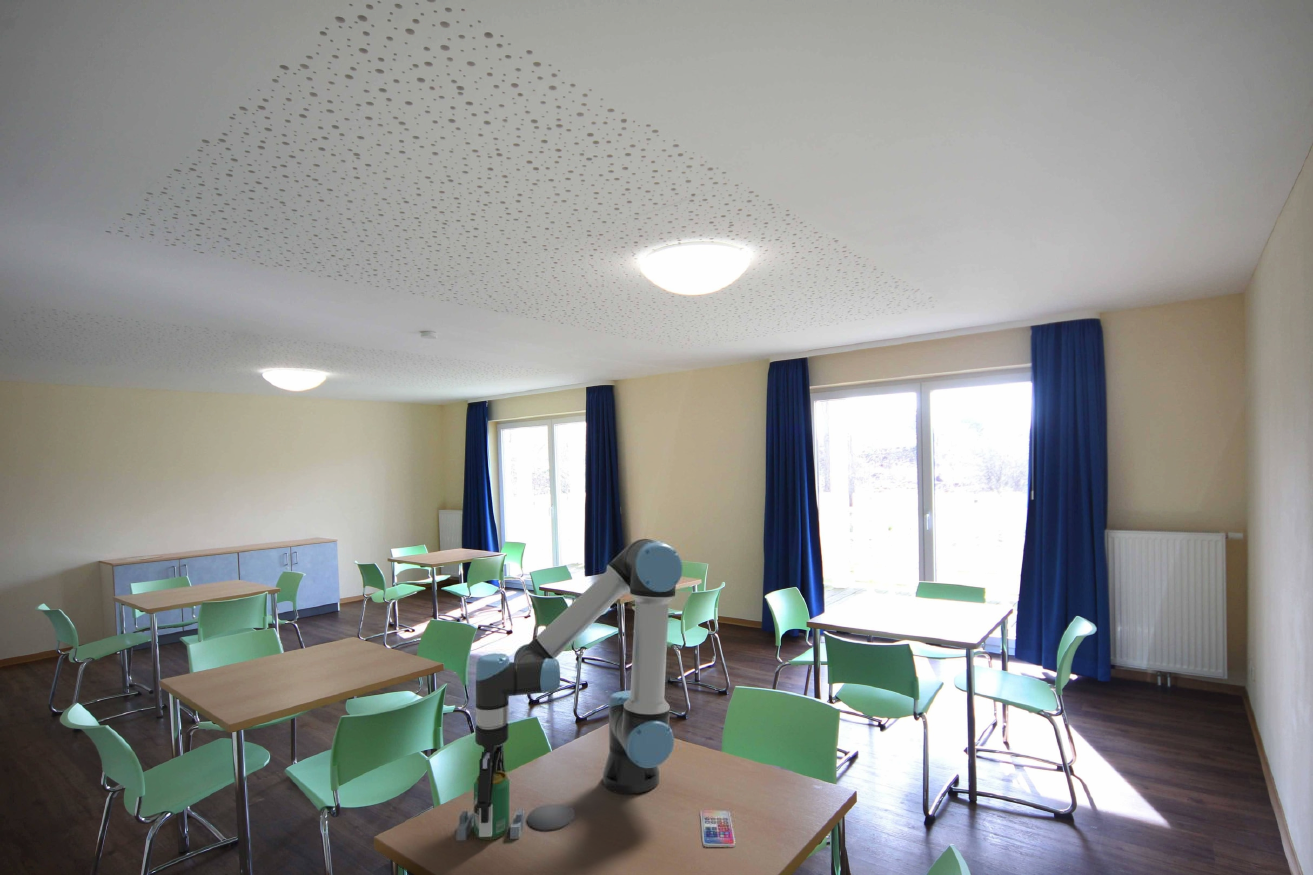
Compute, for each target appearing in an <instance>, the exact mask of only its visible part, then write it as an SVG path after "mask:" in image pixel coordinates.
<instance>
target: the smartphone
mask: <svg viewBox="0 0 1313 875" xmlns="http://www.w3.org/2000/svg"><path fill="white" fill-rule="evenodd" d="M699 814H700V815H699V817H700V818H699V819H700V830H701V835H700V836H701V840H702V846H703V847H704V846H705V847H704V848H706V847H719V846H722V847H725V846H734V845H735V843H736V837H735V838H734V836H735V832H734V828H732V826H733V822H731V821H732V816H731V817H730V815H731V812H730V811H728V810H708V809H707V810H705V809H704V810H703V809H702V810H701V811H700V812H699Z"/></svg>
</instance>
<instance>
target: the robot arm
mask: <svg viewBox="0 0 1313 875" xmlns="http://www.w3.org/2000/svg"><path fill="white" fill-rule="evenodd" d="M682 575H683V561H682V560H681V556H680V554H679V553H678V552H677V551H676V550H675V549H674V548H673V547H672V546H670V545H669V544H667V543H665V542H663V541H656V540H654V539H649V538H641V539H640V538H639V539H637V540H635V541H633V542H632V543H630V544H629V545H627V546H626V547H625V548H624V549H623V550H622V551H620V553H618V554H617V556H616V557H615V558H613V560H612V561H611V562H609V563H608V564H607V565H606V571H605V572H604V573H603V574H602V575H601V576H599V578H598V579H596V581H595V582H594V583H593V584H591V585H590V586H589V587H588V588H587V589H586V590H585V591H584V592H582V594H581V595H579V597H578V598H576V599H575V600H573V602H572V603H571V604H570V605H569V606H568V607H567V608H566V609H564V610H563V611H562V612H561V613H560V614H559V615H558V616H557V617H555V619H554V620H553V621H552V622H550V624H548V625H547V626H546V627H545V628H544V629H543V630H542V631H541V632H540V633H539V634H538V635H536V637H535V638H534V639H532V640H531V641H530V642H529V643H526V644H523V645H521V646H519V648H517V649H516V651H515V653H514V655H513V661H510V658H509V656H508V654H506V653H500V652H499V653H496V652H495V653H488V654H483V655H481V656H480V657H479V658H478V659H477V661H476V664H475V665H476V666H475V667H476V670H475V709H473V712H472V713H473V714H475V724H476V726H475V728H474V729H475V732H474V733H475V735H474V736H475V737H474V738H475V740H474V741H475V743H476V745H478V746H481V747H483V751H481V755H480V757H481V758H480V759H479V760H478V763H479V768H478V769H479V771H478V772H479V773H478V774H479V775H478V776H479V783H478V797H477V804H475V807H476V808H479V837H491V836H492V804H491V799H492V790H493V781H494V773H496V771H502V772H505V773H506V767H505V755H504V754H505V751H504V743H506V742H507V741H508V739H509V733H510V732H509V730H510V729H509V728H510V726H509V723H508V722H509V721H510V720H509V719H510V704H509V703H510V702H509V699H510V697H514V696H524V695H525V696H526V695H534V694H546V693H551V692H555V691H557V690H558V689H559V688H560V685H561V684H560V683H561V667H560V663H559V660H558V659H557V658H558V656H559V655H561V653H563V652H564V651H565V650H566V649H567V648H568V647H569V646H570V645H571V644H572V643H573V642H574V641H575V640H577V638H579V636H581V635H582V634H583V633H584V632H585V631H586V630H587V629H588V628H589V627H590V626H591V625H592V624H593V623H595V621H596V620H597V619H598V618H600V617H601V616H602V615H603V614H604V613H605V612H606V611H607V610H608V609H609V608H610V607H611V606H612V605H613V604H615V602H617V601H618V600H619V599H620V598H621V597H622V596H623V595H624V594H626V593H629V595H630V596H631V597H632V598H633V599H634V601H635V603H634V605H635V606H634V619H633V620H634V621H633V636H632V637H633V641H632V654H631V655H632V656H631V657H632V658H631V674H630V675H631V676H630V689H629V690H623V691H617V692H615V693H613V694H610V696H609V699H608V727H609V728H608V730H609V731H608V732H609V733H608V735H609V736H608V739H609V740H608V741H609V742H608V743H609V744H608V745H609V746H608V747H609V750H608V751H609V752H608V755H607V759H606V762H605V765H604V769H603V773H602V783H603V785H604V787H605V788H606V789H607V790H609V791H612V792H615V793H618V794H625V795H629V794H630V795H631V794H641V793H645V792H649V791H651V790H652V789H654V788H655V787H657V786H658V785H659V783H660V769H659V766H660V765H662V764H663V763H664V762H665V761H666V760H667V759H668V758H669V757H670V755H671V754H672V751H673V750H674V746H675V738H674V737H675V736H674V733H673V729H672V728H671V727H670V708H671V707H670V706H671V705H670V704H669V703H668V702H667V701H666V699H665V690H666V688H665V687H666V686H665V685H666V669H667V666H666V665H667V650H668V649H667V648H668V628H669V612H670V610H669V608H670V607H669V606H670V602H671V601H672V600H673V599H674V598H675V597H676V589H677V587H676V585H678V583H679V582H680V580H681V578H682Z"/></svg>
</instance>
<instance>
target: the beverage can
mask: <svg viewBox="0 0 1313 875" xmlns="http://www.w3.org/2000/svg"><path fill="white" fill-rule="evenodd" d="M478 783H479V775H478V776H477V777H476V780H475V782H474V784H473V813H474V824H473V826H472V828H473V832H474V834H475V836H476V838H478V839H480V840H485V841H488V840H489V841H491V840H495V839H498V838H500V837H502V836H504V835H506V833H507V831H508V829H509V827H510V779H509V777H508V776H507V773H506V771H505V772H502V771H496V773H494V781H493V790H492V799H491V804H492V836H491V837H479V808H476V807H475V804H477V797H478Z"/></svg>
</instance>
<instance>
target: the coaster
mask: <svg viewBox="0 0 1313 875" xmlns="http://www.w3.org/2000/svg"><path fill="white" fill-rule="evenodd" d="M574 818H575V811H574V810H573V808H572V807H570V806H568V805H566V804H560V803H550V804H544V805H540V806H538V807H536V808H534V809H532V810H531V811H530V812H529V813H528V815H527V824H528V825H529V827H531V828H533V829H535V830H538V831H546V832H548V831H554V830H559V829H562V828H565V827H567V826H569V825H570V824H572V822H573V821H574Z"/></svg>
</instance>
